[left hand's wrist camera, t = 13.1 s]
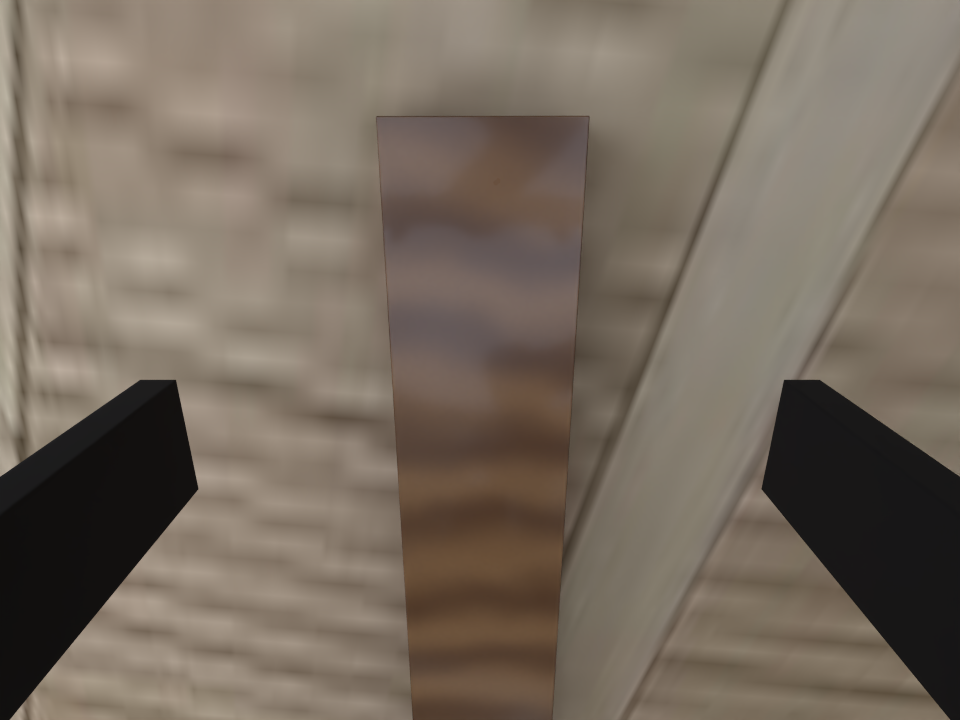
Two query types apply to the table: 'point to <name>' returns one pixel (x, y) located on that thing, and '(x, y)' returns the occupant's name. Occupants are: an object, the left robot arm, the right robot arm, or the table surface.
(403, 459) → the narrow beam
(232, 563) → the table surface
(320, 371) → the table surface
